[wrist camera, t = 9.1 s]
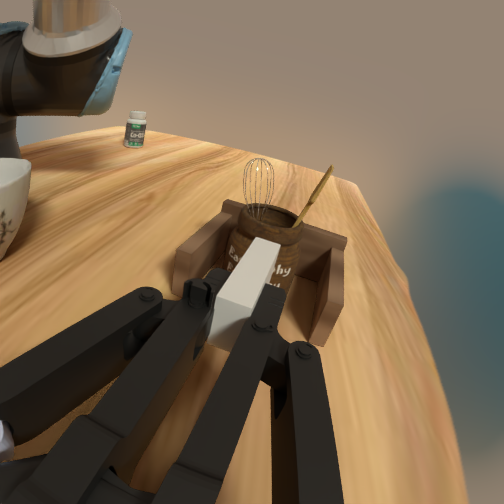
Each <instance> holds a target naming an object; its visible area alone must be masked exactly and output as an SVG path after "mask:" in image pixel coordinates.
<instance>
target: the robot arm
mask: <svg viewBox="0 0 504 504" xmlns="http://www.w3.org/2000/svg"><path fill="white" fill-rule="evenodd" d="M33 16H34V17H33V18H34V20H33V21H32V22H31V23H30V24H28V23H26V22H20V21H19V22H18V21H12V22H7V23H0V158H16V159H22V156H21V153H20V149H19V146H18V142H17V138H16V118H17V116H78V117H81V116H83V115H100V114H103V113H105V112H106V111H108V110H109V108H110V107H111V104H112V101H113V97H114V94H115V90H116V86H117V83H118V79H119V76H120V72H121V69H122V66H123V62H124V59H125V56H126V53H127V50H128V47H129V44H130V41H131V38H132V35H133V33H132V31H131V30H128V29H126V28H121V14H120V12H119V11H118V10H117V9H116V8H115V7H113V6H112V5H111V0H33ZM120 28H121V29H120ZM280 246H281V245H280V244H277V243H274V242H271V241H267V240H264V239H261V238H258V237H256V238H255V239H254V241H253V242H252V244H251V245H250V247H249V248H248V250H247V251H246V253H245V254H244V256H243V257H242V259H241V260H240V262H239V263H238V264H237V266H236V267H235V269H234V270H233V272H230V271H227V270H224V269H221V268H216V269H214V270H211V271H210V272H209V273H208V275H207V276H206V277H205V278H204V280H203V279H199V278H192V279H188V280H186V281H185V282H184V287H183V295H182V299H181V300H180V301H173V300H166V299H163V296H162V293H161V292H160V291H159V290H157V289H155V288H153V287H140V288H137V289H135V290H134V291H132V292H130V293H128V294H126V295H125V296H123V297H121V298H119V299H118V300H116V301H114V302H112V303H110V304H109V305H107V306H105V307H103V308H102V309H100V310H98V311H96V312H95V313H93V314H91V315H89V316H88V317H86V318H84V319H82V320H81V321H79V322H77V323H75V324H74V325H72V326H70V327H68V328H67V329H65V330H63V331H62V332H60V333H58V334H56V335H55V336H53V337H51V338H50V339H48V340H46V341H44V342H43V343H41V344H39V345H38V346H36V347H34V348H33V349H31V350H29V351H27V352H26V353H24V354H22V355H21V356H19V357H17V358H16V359H14V360H12V361H11V362H9V363H7V364H6V365H4V366H2V367H1V368H0V504H215V502H216V499H217V497H218V494H219V492H220V489H221V487H222V484H223V480H224V477H225V474H226V472H227V469H228V467H229V464H230V461H231V459H232V456H233V454H234V451H235V448H236V446H237V443H238V440H239V438H240V435H241V432H242V429H243V427H244V424H245V421H246V418H247V416H248V413H249V410H250V407H251V404H252V402H253V399H254V396H255V393H256V390H257V387H258V384H259V381H260V380H261V381H263V382H264V383H266V384H267V385H269V386H270V387H271V389H270V399H271V456H272V504H344V499H343V492H342V484H341V477H340V470H339V463H338V456H337V450H336V443H335V437H334V431H333V425H332V419H331V413H330V407H329V401H328V396H327V390H326V384H325V379H324V374H323V368H322V363H321V358H320V354H319V351H318V350H317V349H316V347H315V346H313V345H312V344H310V343H308V342H304V341H295V342H292V343H289V342H287V341H286V340H284V339H283V338H282V337H281V336H280V335H279V333H278V330H277V325H278V322H279V319H280V316H281V313H282V309H283V306H284V303H285V300H286V293H285V290H284V289H282V288H279V287H276V286H273V285H270V284H269V282H270V279H271V276H272V273H273V269H274V266H275V263H276V259H277V256H278V253H279V249H280ZM207 338H208V341H207V344H210V345H212V346H215V347H218V348H220V349H223V350H226V351H228V352H231V353H230V355H229V357H228V359H227V361H226V363H225V365H224V367H223V369H222V371H221V373H220V375H219V377H218V379H217V381H216V384H215V386H214V388H213V390H212V392H211V394H210V396H209V398H208V400H207V402H206V404H205V406H204V408H203V410H202V412H201V414H200V416H199V418H198V420H197V422H196V424H195V426H194V428H193V430H192V432H191V434H190V436H189V438H188V440H187V442H186V444H185V446H184V448H183V450H182V452H181V454H180V456H179V458H178V459H177V461H176V462H175V463H173V465H172V466H171V468H170V469H169V471H168V473H167V475H166V477H165V479H164V481H163V482H162V484H161V486H160V488H159V490H158V492H157V494H153V493H149V492H144V491H140V490H136V489H133V488H131V487H129V486H128V485H129V483H130V482H131V479H132V476H133V472H134V469H135V467H136V465H137V463H138V461H139V460H140V458H141V456H142V455H143V453H144V451H145V450H146V448H147V446H148V444H149V443H150V441H151V439H152V438H153V436H154V434H155V432H156V431H157V429H158V427H159V426H160V424H161V422H162V420H163V419H164V417H165V415H166V414H167V412H168V410H169V408H170V407H171V405H172V403H173V402H174V400H175V398H176V396H177V395H178V393H179V391H180V389H181V388H182V386H183V384H184V383H185V381H186V379H187V377H188V376H189V374H190V372H191V371H192V369H193V367H194V365H195V364H196V362H197V360H198V358H199V357H200V355H201V353H202V351H203V348H204V343H205V341H206V339H207ZM119 375H120V376H119ZM118 376H119V377H118ZM116 377H118V378H117V380H116V381H115V382H114V383H113V385H112V386H111V387H110V389H109V390H108V391H107V392H106V394H105V395H104V396H103V398H102V399H101V400H100V401H99V403H98V404H97V405H96V407H95V408H94V409H93V410H92V412H91V413H90V414H88V415H80V416H78V417H77V418H76V419H75V420H74V421H73V422H72V423H71V425H70V426H69V427H68V428H67V430H66V431H65V432H64V433H63V435H62V436H61V437H60V439H59V440H58V441H57V443H56V444H55V445H54V446H53V448H52V449H51V450H50V452H49V453H48V454H43V455H39V456H34V457H29V458H25V459H20V460H14V461H10V460H12V459H13V457H14V446H18V445H21V444H23V443H25V442H27V441H29V440H31V439H33V438H34V437H36V436H38V435H39V434H41V433H42V432H43V431H45V430H46V429H48V428H49V427H50V426H52V425H53V424H54V423H56V422H57V421H59V420H60V419H61V418H63V417H64V416H65V415H67V414H68V413H69V412H71V411H72V410H73V409H75V408H76V407H78V406H79V405H80V404H82V403H83V402H84V401H86V400H87V399H88V398H90V397H91V396H92V395H94V394H95V393H96V392H98V391H99V390H100V389H102V388H103V387H104V386H106V385H107V384H108V383H110V382H111V381H112V380H114V379H115V378H116ZM4 460H6V461H9V462H3V463H1V462H2V461H4Z"/></svg>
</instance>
